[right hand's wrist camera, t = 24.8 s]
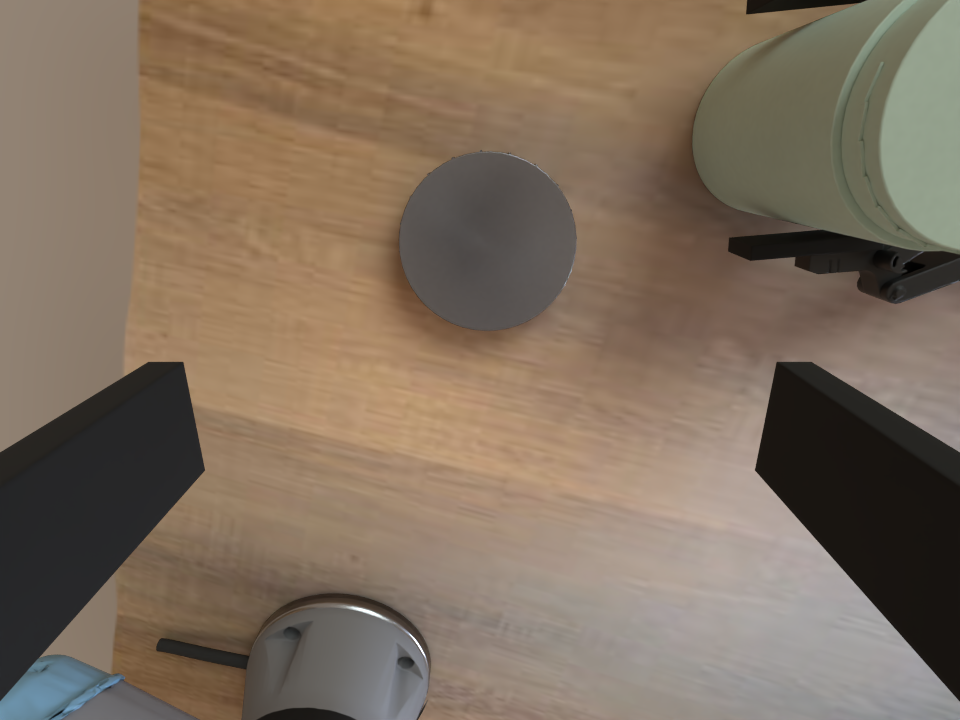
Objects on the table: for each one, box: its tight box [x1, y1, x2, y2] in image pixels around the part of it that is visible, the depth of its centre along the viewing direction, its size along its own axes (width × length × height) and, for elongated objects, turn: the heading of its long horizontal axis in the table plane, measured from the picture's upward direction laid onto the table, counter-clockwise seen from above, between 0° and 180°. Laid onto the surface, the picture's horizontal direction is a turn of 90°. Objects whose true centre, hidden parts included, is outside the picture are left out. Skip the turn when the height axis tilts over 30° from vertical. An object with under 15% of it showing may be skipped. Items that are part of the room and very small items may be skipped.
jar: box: [692, 0, 960, 254], centre depth 25 cm, size 10×10×16 cm
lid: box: [399, 150, 577, 331], centre depth 33 cm, size 11×11×2 cm
